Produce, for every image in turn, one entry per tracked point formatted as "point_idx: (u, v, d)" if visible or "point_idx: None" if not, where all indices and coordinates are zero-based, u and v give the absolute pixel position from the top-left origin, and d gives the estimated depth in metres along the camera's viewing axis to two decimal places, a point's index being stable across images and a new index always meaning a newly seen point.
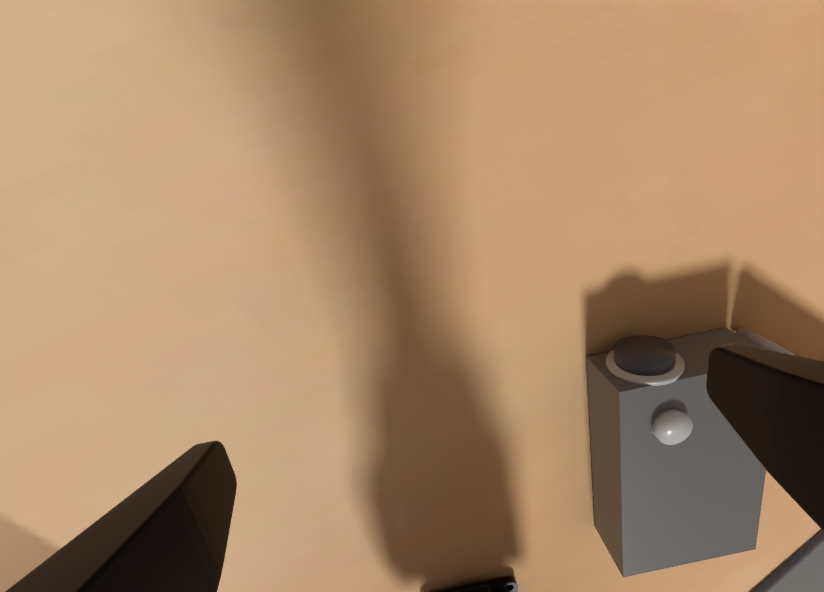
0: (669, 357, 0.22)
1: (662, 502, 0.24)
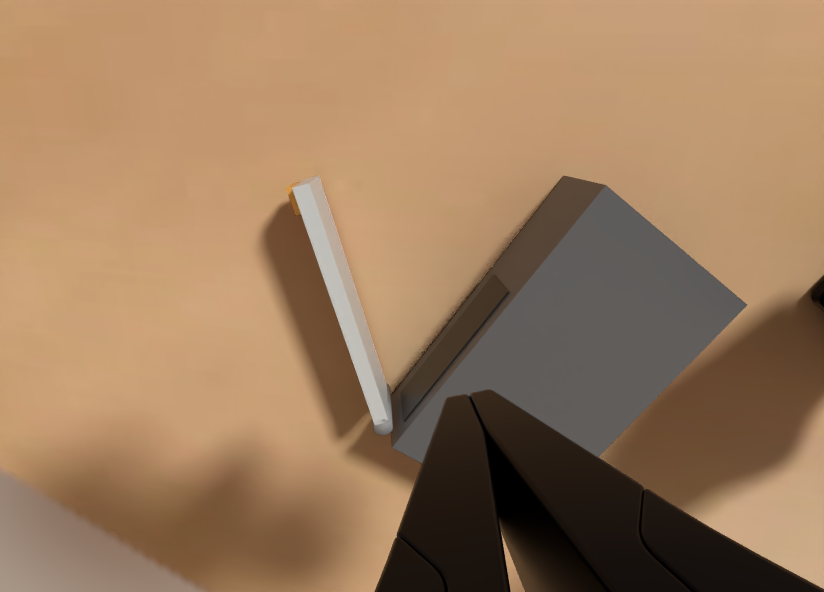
0: None
1: (615, 376, 0.18)
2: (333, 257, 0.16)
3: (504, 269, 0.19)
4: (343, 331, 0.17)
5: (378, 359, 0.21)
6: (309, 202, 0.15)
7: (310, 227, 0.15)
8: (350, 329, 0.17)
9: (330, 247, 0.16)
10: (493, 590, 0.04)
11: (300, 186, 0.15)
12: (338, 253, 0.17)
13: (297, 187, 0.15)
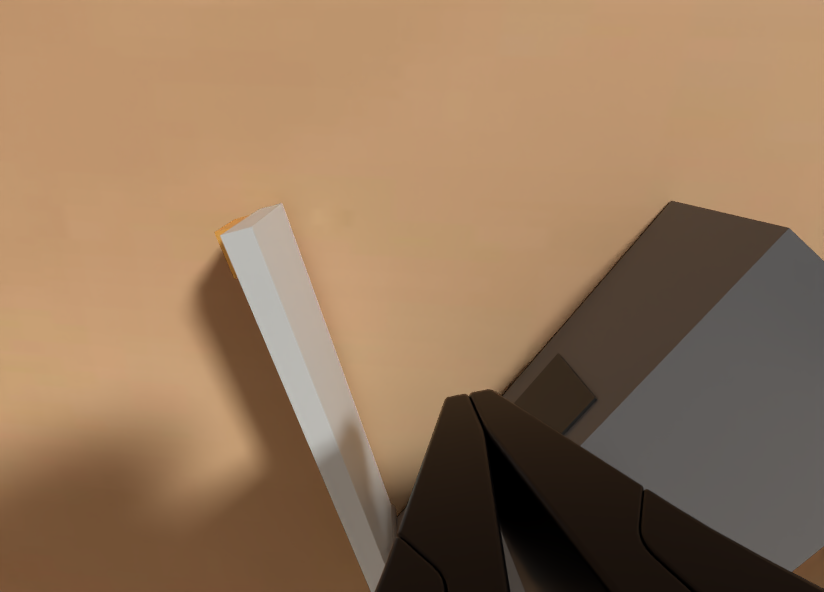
0: None
1: (760, 523, 0.11)
2: (301, 352, 0.09)
3: (579, 348, 0.12)
4: (320, 466, 0.10)
5: (379, 472, 0.14)
6: (253, 260, 0.08)
7: (256, 302, 0.09)
8: (332, 463, 0.10)
9: (294, 335, 0.09)
10: (493, 590, 0.04)
11: (235, 232, 0.08)
12: (312, 333, 0.10)
13: (230, 234, 0.08)
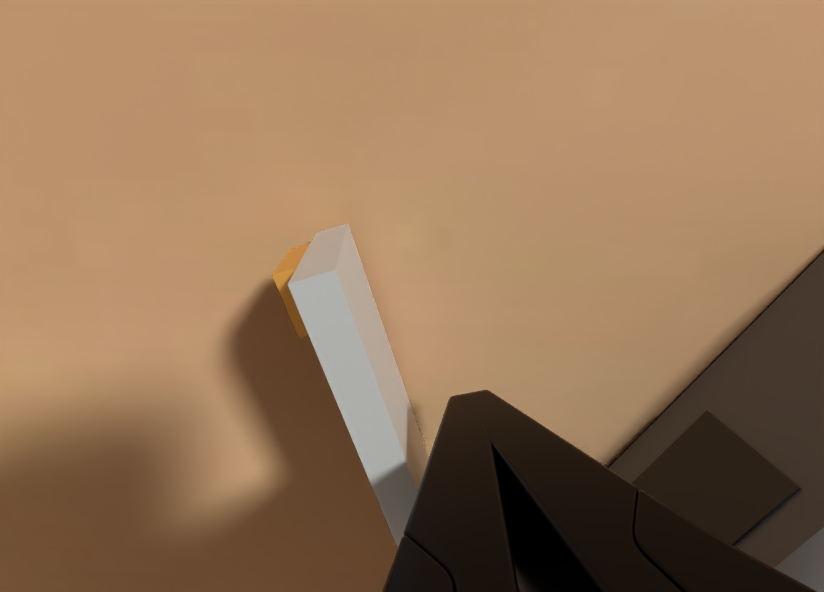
0: None
1: None
2: (399, 442, 0.06)
3: (742, 407, 0.09)
4: None
5: None
6: (336, 318, 0.06)
7: (339, 377, 0.06)
8: None
9: (390, 420, 0.06)
10: (502, 589, 0.04)
11: (311, 278, 0.05)
12: (398, 400, 0.08)
13: (302, 282, 0.05)
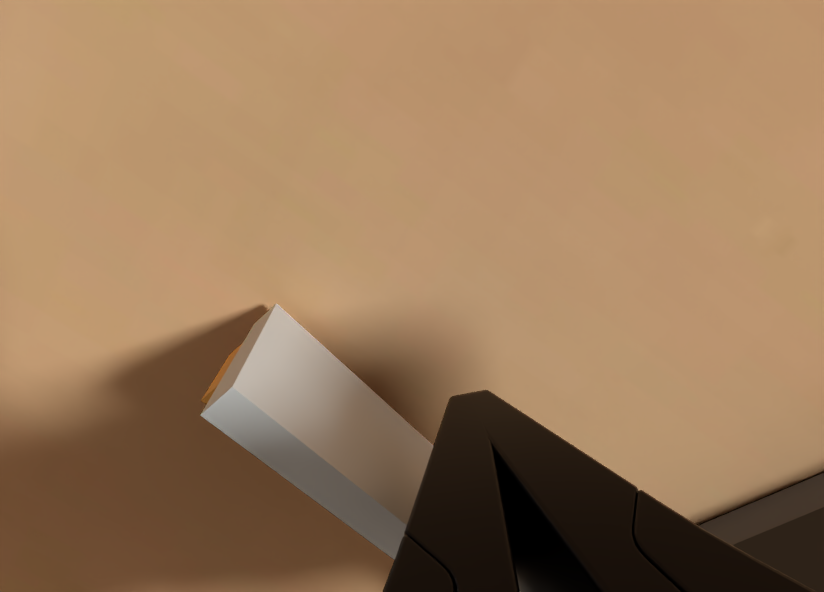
0: None
1: None
2: (377, 499, 0.06)
3: None
4: None
5: None
6: (258, 423, 0.06)
7: (290, 469, 0.06)
8: None
9: (358, 485, 0.06)
10: (502, 588, 0.04)
11: (217, 402, 0.06)
12: (383, 447, 0.08)
13: (211, 408, 0.06)
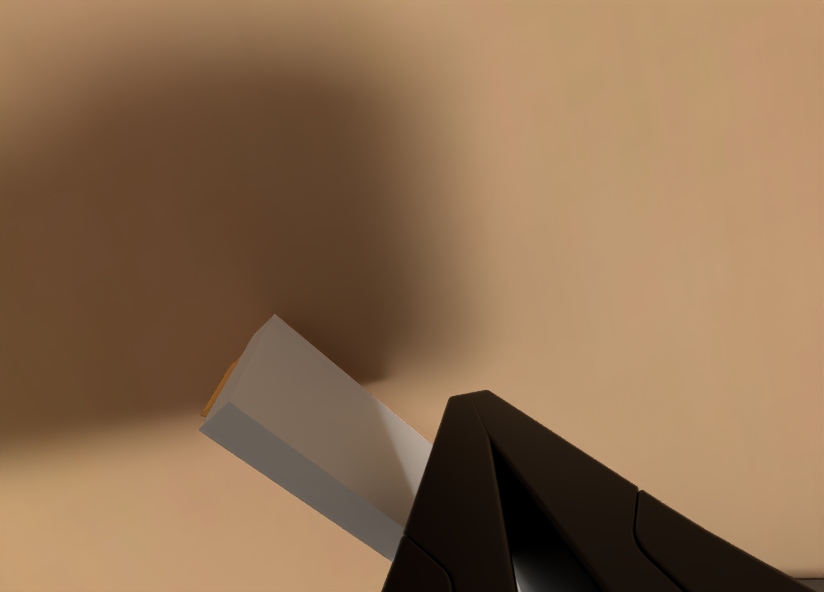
0: None
1: None
2: (377, 508, 0.07)
3: None
4: None
5: None
6: (256, 436, 0.06)
7: (290, 481, 0.06)
8: None
9: (358, 493, 0.06)
10: (501, 589, 0.04)
11: (214, 417, 0.06)
12: (384, 454, 0.08)
13: (209, 423, 0.06)
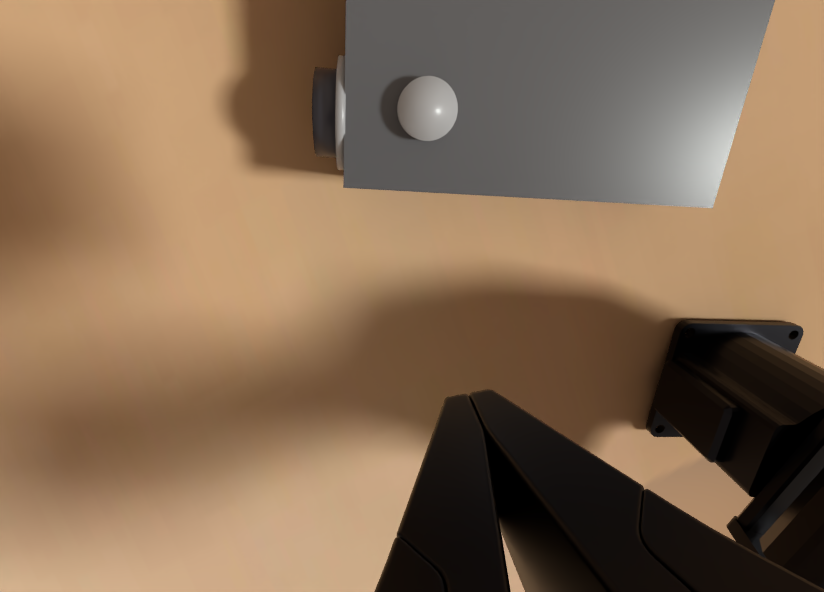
0: (313, 92, 0.14)
1: (585, 130, 0.14)
2: None
3: None
4: None
5: None
6: None
7: None
8: None
9: None
10: (493, 590, 0.04)
11: None
12: None
13: None
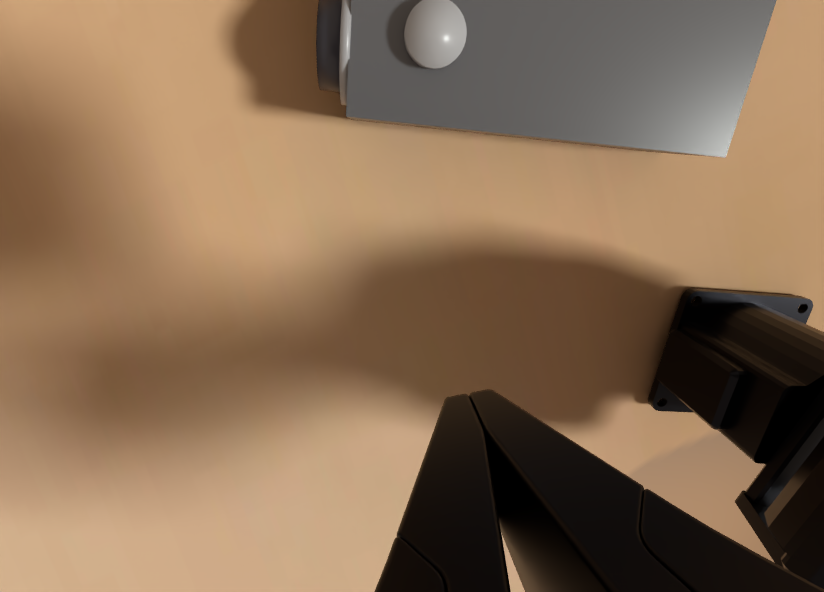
0: (318, 14, 0.13)
1: (597, 66, 0.14)
2: None
3: None
4: None
5: None
6: None
7: None
8: None
9: None
10: (493, 590, 0.04)
11: None
12: None
13: None
